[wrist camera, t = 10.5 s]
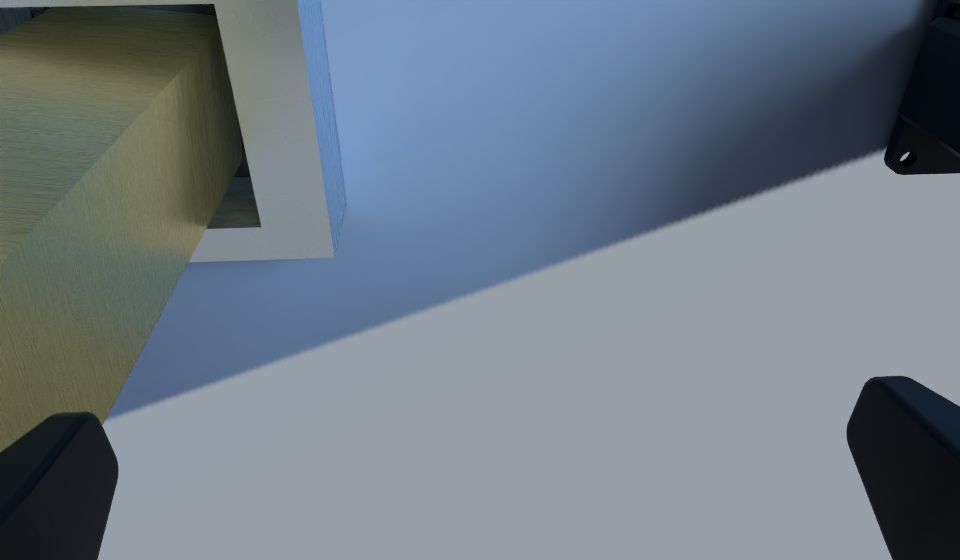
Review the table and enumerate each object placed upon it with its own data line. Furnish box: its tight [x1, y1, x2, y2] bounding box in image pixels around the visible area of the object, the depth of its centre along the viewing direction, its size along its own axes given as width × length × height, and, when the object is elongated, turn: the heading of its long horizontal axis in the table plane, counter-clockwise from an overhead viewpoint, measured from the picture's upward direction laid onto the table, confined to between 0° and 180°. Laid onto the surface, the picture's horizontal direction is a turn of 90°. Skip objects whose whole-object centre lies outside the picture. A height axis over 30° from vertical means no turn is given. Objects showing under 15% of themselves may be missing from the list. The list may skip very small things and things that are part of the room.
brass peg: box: [0, 5, 243, 452], centre depth 13 cm, size 4×4×13 cm
